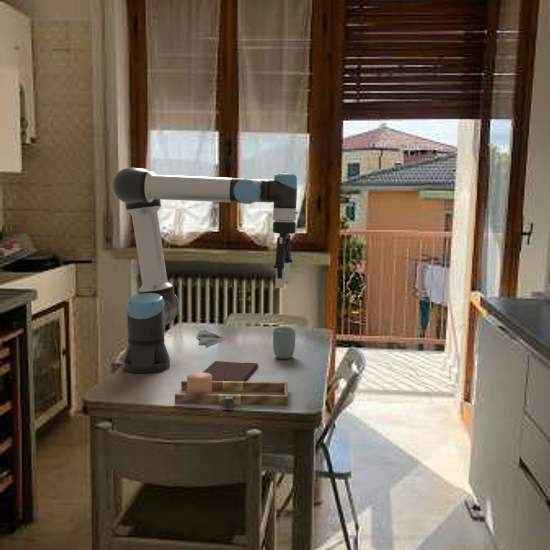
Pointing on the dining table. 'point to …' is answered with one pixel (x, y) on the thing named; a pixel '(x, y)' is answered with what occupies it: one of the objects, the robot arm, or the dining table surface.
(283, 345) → the cup
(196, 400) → the track
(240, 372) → the notebook
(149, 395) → the dining table surface
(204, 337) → the cloth
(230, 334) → the dining table surface
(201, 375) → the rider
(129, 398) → the dining table surface
